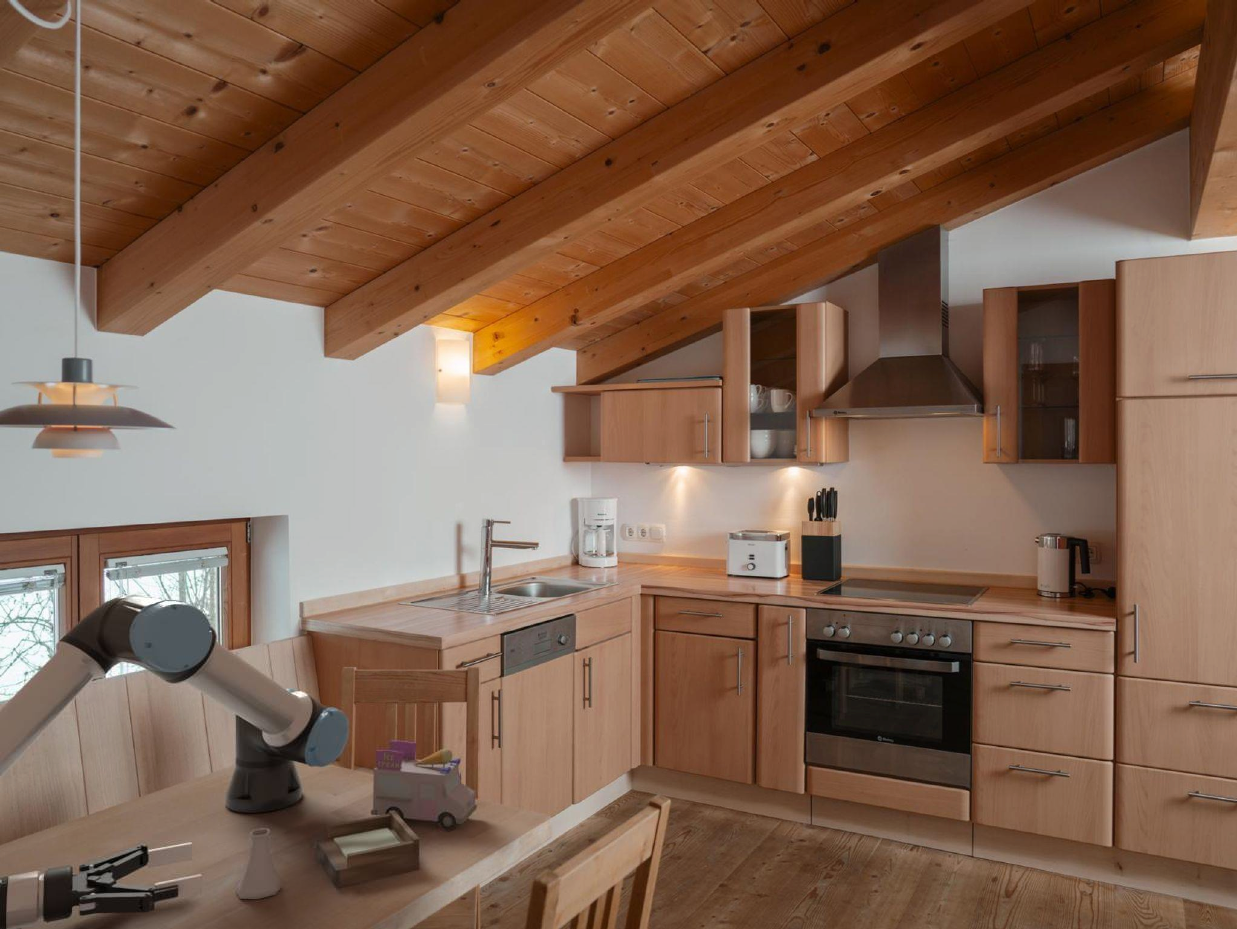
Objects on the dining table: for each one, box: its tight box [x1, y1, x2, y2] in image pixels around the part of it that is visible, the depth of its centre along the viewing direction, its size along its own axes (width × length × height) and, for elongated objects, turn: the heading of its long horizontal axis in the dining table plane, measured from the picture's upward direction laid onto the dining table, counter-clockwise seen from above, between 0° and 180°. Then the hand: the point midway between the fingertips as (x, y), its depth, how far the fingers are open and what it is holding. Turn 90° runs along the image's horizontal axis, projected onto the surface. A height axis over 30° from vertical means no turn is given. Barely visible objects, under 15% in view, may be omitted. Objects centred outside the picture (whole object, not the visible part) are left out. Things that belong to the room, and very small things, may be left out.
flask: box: [235, 827, 283, 900], centre depth 153 cm, size 7×7×10 cm
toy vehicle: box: [370, 739, 478, 831], centre depth 183 cm, size 9×20×15 cm, turn 78°
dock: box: [315, 810, 421, 889], centre depth 164 cm, size 15×15×6 cm
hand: (196, 866), depth 148 cm, fingers open, 13 cm apart
